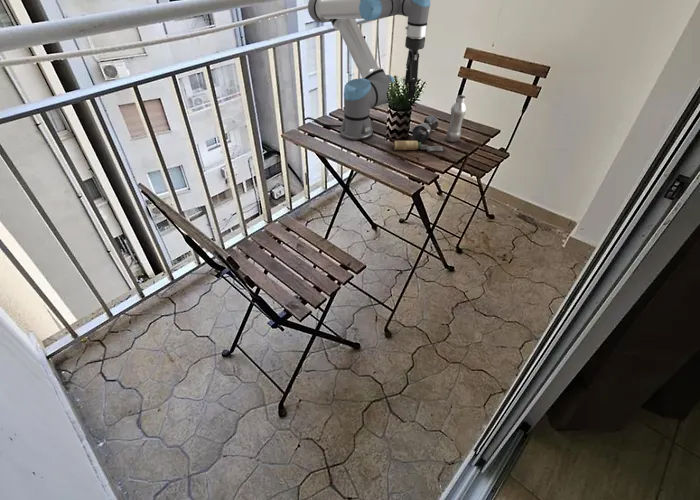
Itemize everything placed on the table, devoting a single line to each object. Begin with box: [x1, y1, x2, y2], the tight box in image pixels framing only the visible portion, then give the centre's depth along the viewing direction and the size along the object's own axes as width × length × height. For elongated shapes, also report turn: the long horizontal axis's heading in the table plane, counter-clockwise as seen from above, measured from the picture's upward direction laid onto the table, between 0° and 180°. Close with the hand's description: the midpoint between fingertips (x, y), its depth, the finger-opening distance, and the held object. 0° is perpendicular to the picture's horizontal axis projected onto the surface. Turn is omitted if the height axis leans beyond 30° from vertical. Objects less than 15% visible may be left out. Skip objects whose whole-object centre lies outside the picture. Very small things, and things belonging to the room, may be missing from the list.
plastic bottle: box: [445, 94, 467, 143], centre depth 172 cm, size 6×7×20 cm
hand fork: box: [393, 140, 444, 152], centre depth 171 cm, size 22×4×4 cm, turn 91°
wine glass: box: [411, 114, 439, 144], centre depth 179 cm, size 8×8×15 cm
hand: (409, 91), depth 165 cm, fingers open, 13 cm apart
